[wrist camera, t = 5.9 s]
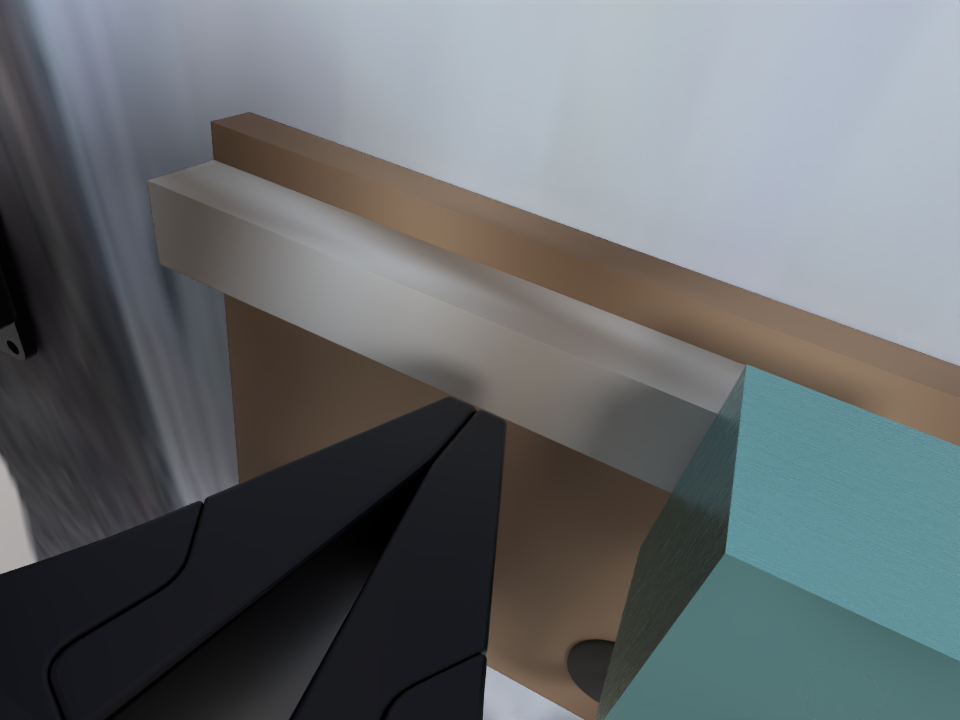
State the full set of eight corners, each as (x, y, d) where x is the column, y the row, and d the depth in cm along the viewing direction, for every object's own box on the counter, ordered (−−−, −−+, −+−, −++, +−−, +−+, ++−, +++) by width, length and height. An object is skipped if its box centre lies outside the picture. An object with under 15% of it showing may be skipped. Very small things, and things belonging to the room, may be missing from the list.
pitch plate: (265, 507, 19) (145, 628, 15) (249, 112, 12) (15, 168, 8) (667, 723, 16) (633, 934, 12) (979, 373, 9) (1108, 639, 5)
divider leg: (554, 672, 14) (481, 887, 11) (752, 316, 8) (725, 553, 5) (678, 739, 13) (641, 991, 10) (994, 405, 7) (1164, 756, 4)
